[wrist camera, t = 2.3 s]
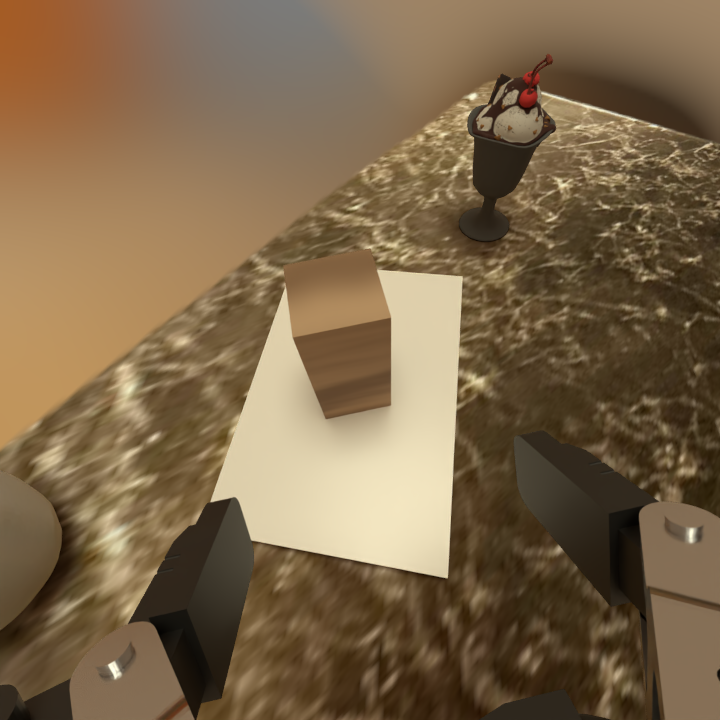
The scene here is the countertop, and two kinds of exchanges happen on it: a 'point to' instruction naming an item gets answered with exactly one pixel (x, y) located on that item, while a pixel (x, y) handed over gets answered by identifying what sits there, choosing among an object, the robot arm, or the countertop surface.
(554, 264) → the countertop surface
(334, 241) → the countertop surface
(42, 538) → the glass bottle
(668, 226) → the countertop surface
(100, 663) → the robot arm
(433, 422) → the cream sheet of paper
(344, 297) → the walnut block
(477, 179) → the sundae
